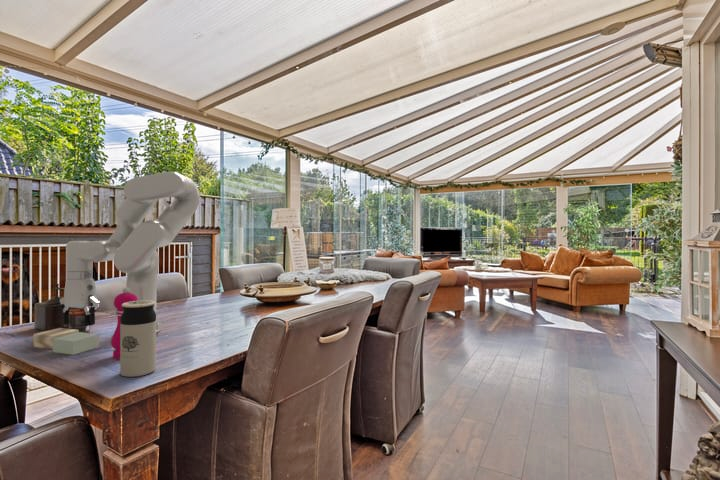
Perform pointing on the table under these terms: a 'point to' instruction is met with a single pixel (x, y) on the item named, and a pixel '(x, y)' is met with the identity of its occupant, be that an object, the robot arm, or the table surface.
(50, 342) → the maple block
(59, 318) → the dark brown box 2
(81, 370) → the table surface
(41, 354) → the table surface
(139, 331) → the travel mug
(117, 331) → the pepper mill
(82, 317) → the supplement bottle
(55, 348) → the green block
